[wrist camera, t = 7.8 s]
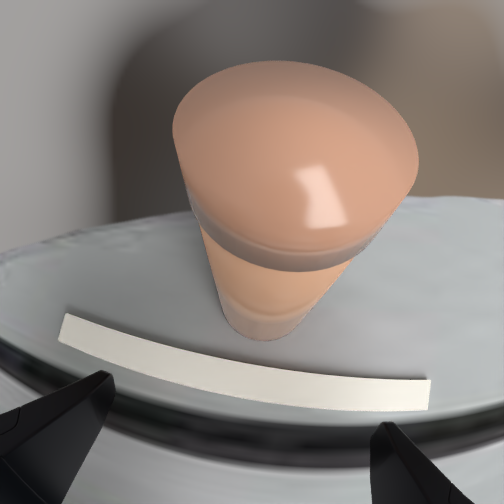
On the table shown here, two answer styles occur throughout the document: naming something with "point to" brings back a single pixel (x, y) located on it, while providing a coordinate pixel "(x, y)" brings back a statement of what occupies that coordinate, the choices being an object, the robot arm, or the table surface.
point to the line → (243, 374)
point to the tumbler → (288, 183)
